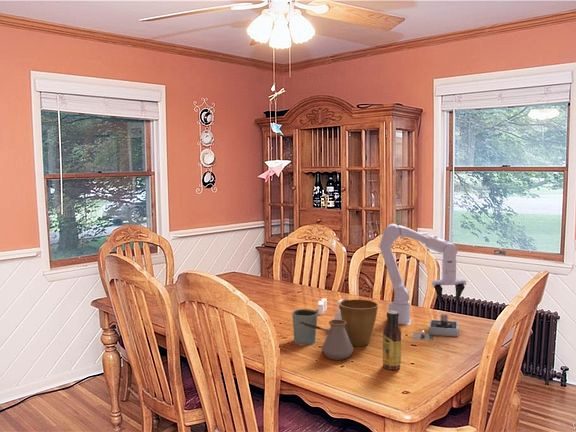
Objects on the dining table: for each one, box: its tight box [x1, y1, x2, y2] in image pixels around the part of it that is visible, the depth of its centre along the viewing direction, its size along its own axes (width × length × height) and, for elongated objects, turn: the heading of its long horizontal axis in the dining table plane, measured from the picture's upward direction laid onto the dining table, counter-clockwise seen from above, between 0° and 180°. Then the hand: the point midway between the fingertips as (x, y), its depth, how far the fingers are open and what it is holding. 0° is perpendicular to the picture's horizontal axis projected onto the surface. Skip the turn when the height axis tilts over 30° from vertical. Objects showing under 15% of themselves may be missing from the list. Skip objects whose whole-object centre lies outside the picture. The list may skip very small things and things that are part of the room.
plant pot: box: [340, 299, 379, 347], centre depth 207 cm, size 15×15×16 cm
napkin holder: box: [317, 298, 328, 316], centre depth 254 cm, size 15×11×6 cm
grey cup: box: [291, 308, 318, 346], centre depth 210 cm, size 10×10×12 cm
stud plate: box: [411, 330, 434, 341], centre depth 213 cm, size 8×8×3 cm
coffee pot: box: [298, 319, 354, 361], centre depth 191 cm, size 21×12×15 cm, turn 114°
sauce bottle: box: [382, 310, 402, 371], centre depth 181 cm, size 7×6×20 cm
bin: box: [428, 319, 459, 337], centre depth 219 cm, size 11×11×4 cm
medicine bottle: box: [334, 298, 348, 320], centre depth 228 cm, size 7×7×12 cm
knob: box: [436, 314, 453, 329], centre depth 219 cm, size 5×5×7 cm
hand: (448, 301), depth 229 cm, fingers open, 7 cm apart
